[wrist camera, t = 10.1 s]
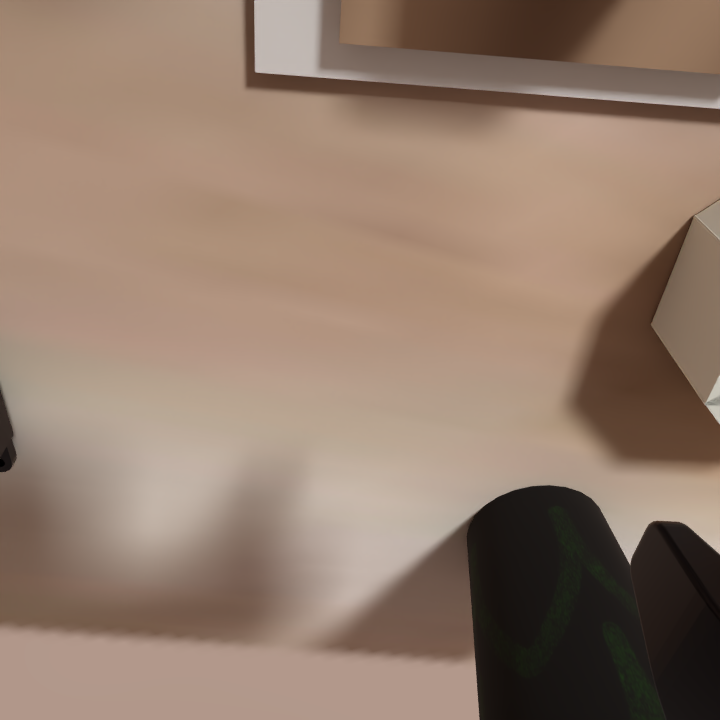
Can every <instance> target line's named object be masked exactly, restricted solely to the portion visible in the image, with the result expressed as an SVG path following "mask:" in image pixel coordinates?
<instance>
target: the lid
mask: <svg viewBox="0 0 720 720" xmlns="http://www.w3.org/2000/svg"><path fill="white" fill-rule="evenodd" d="M339 43H341V44H353V45H366V46H378V47H390V48H403V49H415V50H427V51H439V52H452V53H464V54H476V55H488V56H501V57H513V58H525V59H537V60H550V61H562V62H574V63H587V64H599V65H611V66H623V67H636V68H648V69H660V70H672V71H685V72H697V73H709V74H720V0H341V14H340V32H339Z"/></svg>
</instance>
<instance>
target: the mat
mask: <svg viewBox="0 0 720 720" xmlns="http://www.w3.org/2000/svg"><path fill="white" fill-rule="evenodd" d="M340 14H341V0H254V26H255V72H256V73H269V74H282V75H295V76H307V77H320V78H333V79H346V80H358V81H371V82H384V83H397V84H409V85H422V86H435V87H448V88H461V89H473V90H486V91H499V92H512V93H524V94H537V95H550V96H563V97H575V98H588V99H601V100H614V101H626V102H639V103H652V104H665V105H678V106H690V107H703V108H716V109H720V74H709V73H697V72H685V71H672V70H660V69H648V68H636V67H623V66H611V65H599V64H587V63H574V62H562V61H550V60H537V59H525V58H513V57H501V56H488V55H476V54H464V53H452V52H439V51H427V50H415V49H403V48H390V47H378V46H366V45H353V44H341V43H339V32H340Z"/></svg>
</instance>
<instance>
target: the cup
mask: <svg viewBox="0 0 720 720" xmlns="http://www.w3.org/2000/svg"><path fill="white" fill-rule="evenodd" d="M467 547H468V561H469V575H470V589H471V604H472V618H473V632H474V646H475V660H476V675H477V689H478V702H479V717H480V720H666V719H665V716H664V713H663V710H662V707H661V703H660V700H659V697H658V694H657V690H656V687H655V684H654V680H653V675H652V671H651V667H650V663H649V658H648V653H647V649H646V644H645V639H644V635H643V630H642V625H641V621H640V616H639V611H638V607H637V602H636V597H635V593H634V588H633V583H632V579H631V572H630V564H629V562H628V561H627V559H626V557H625V555H624V553H623V551H622V549H621V547H620V546H619V544H618V542H617V540H616V538H615V536H614V534H613V532H612V531H611V529H610V527H609V525H608V523H607V521H606V519H605V518H604V516H603V514H602V512H601V510H600V508H599V507H598V506H597V505H596V503H595V502H594V501H593V500H592V499H591V498H589V497H588V496H586V495H584V494H583V493H581V492H579V491H576V490H573V489H569V488H566V487H558V486H533V487H528V488H523V489H519V490H515V491H512V492H510V493H507V494H505V495H502V496H500V497H498V498H496V499H495V500H493V501H492V502H490V503H489V504H487V505H486V506H484V507H483V508H482V509H481V510H480V511H479V512H478V513H477V514H476V515H475V517H474V519H473V520H472V522H471V524H470V526H469V529H468V534H467Z"/></svg>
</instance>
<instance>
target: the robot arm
mask: <svg viewBox="0 0 720 720" xmlns="http://www.w3.org/2000/svg"><path fill="white" fill-rule="evenodd" d="M12 436H13V431H12V428H11V425H10V421H9V418H8V415H7V411H6V408H5V405H4V402H3V398H2V395H1V392H0V458H1V459H0V472H6V471H8V470H10V469H11V467H12V466H13V464H14V462H15V460H16V452H15V449H14V446H13V442H12V439H11V438H12ZM630 572H631V579H632V583H633V588H634V593H635V597H636V602H637V607H638V611H639V616H640V621H641V625H642V630H643V635H644V639H645V644H646V649H647V653H648V658H649V663H650V667H651V671H652V675H653V680H654V684H655V687H656V690H657V694H658V697H659V700H660V703H661V707H662V710H663V713H664V716H665V719H666V720H720V554H719V553H717V552H716V551H715V550H714V549H713V548H712V547H711V546H710V545H708V544H707V543H706V542H705V541H704V540H703V539H702V538H701V537H699V536H698V535H697V534H696V533H695V532H694V531H693V530H691V529H690V528H689V527H688V526H686V525H685V524H683V523H680V522H671V521H653V522H652V523H650V524H649V525H648V527H647V528H646V530H645V532H644V534H643V536H642V538H641V540H640V542H639V544H638V546H637V548H636V550H635V552H634V554H633V556H632V559H631V565H630Z"/></svg>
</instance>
